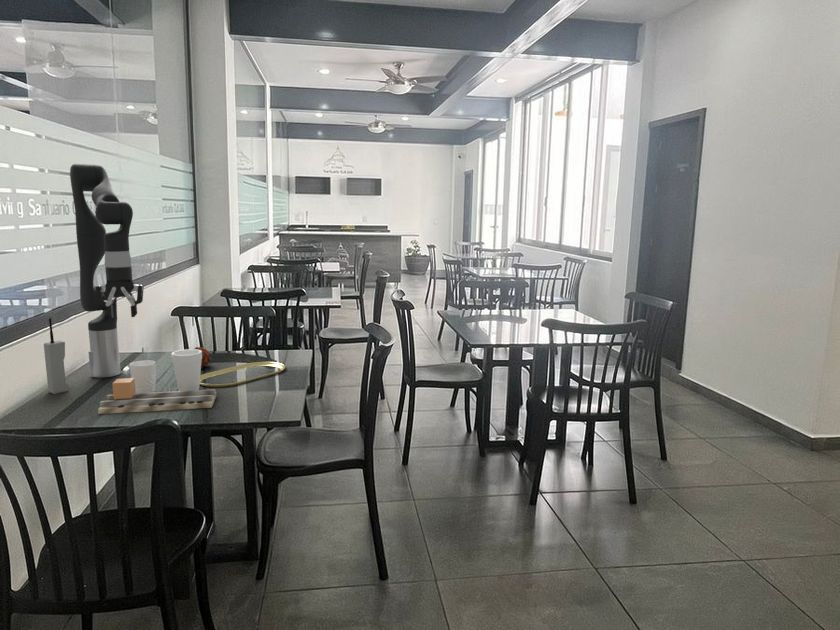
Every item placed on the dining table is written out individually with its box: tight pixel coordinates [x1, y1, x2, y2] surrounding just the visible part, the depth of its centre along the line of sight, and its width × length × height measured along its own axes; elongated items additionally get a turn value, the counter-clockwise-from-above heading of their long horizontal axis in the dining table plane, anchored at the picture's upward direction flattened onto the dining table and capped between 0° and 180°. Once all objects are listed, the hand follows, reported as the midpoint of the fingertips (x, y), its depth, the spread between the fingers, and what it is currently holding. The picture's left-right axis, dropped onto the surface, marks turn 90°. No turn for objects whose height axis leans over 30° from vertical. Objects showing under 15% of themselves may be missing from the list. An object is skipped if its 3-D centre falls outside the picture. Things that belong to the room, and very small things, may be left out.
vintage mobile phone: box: [43, 317, 70, 395], centre depth 198 cm, size 4×5×25 cm
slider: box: [112, 377, 136, 400], centre depth 184 cm, size 5×5×7 cm
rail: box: [97, 388, 217, 415], centre depth 186 cm, size 32×12×3 cm, turn 101°
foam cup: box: [171, 348, 202, 391], centre depth 201 cm, size 10×9×13 cm
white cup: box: [128, 359, 157, 393], centre depth 199 cm, size 8×8×10 cm
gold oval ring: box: [199, 361, 286, 388], centre depth 221 cm, size 19×35×2 cm, turn 145°
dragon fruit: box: [194, 346, 212, 369], centre depth 232 cm, size 8×8×12 cm
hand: (122, 317), depth 194 cm, fingers open, 6 cm apart
